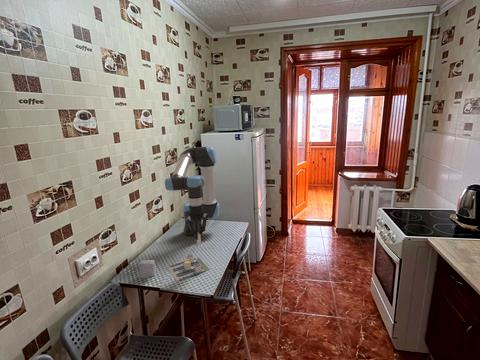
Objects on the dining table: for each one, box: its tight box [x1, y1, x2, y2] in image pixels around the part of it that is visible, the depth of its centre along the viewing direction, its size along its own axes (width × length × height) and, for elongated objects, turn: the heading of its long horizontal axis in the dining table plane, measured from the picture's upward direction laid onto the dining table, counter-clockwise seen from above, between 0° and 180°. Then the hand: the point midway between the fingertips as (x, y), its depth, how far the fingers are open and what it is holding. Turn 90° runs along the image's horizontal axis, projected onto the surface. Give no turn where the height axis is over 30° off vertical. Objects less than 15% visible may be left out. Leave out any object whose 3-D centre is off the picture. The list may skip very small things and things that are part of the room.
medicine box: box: [137, 259, 157, 279], centre depth 143 cm, size 8×4×9 cm, turn 92°
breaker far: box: [186, 253, 195, 263], centre depth 153 cm, size 3×3×4 cm
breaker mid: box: [183, 260, 192, 271], centre depth 146 cm, size 3×3×4 cm
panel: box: [168, 257, 211, 282], centre depth 148 cm, size 16×22×2 cm
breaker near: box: [193, 262, 203, 274], centre depth 143 cm, size 3×3×4 cm
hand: (199, 244), depth 147 cm, fingers closed
